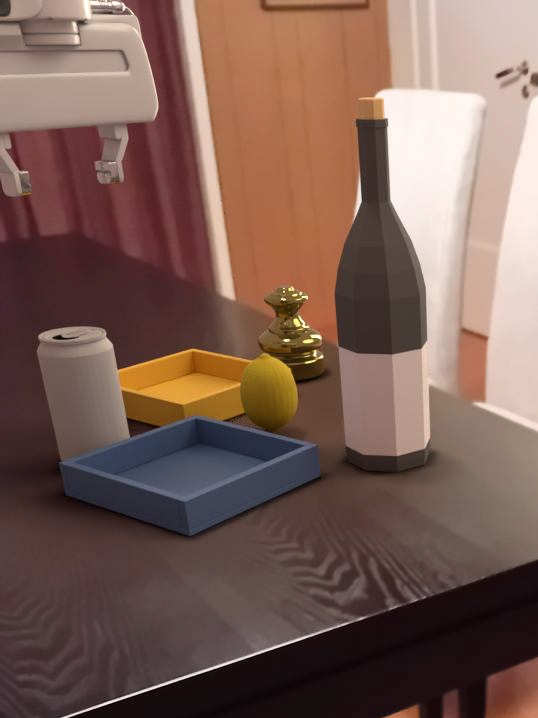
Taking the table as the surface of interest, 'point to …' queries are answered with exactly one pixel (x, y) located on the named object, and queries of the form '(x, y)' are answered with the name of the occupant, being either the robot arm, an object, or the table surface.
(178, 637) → the table surface
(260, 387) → the lemon
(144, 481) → the blue tray
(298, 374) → the gold chess piece
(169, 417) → the yellow tray
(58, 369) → the beverage can
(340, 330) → the wine bottle
